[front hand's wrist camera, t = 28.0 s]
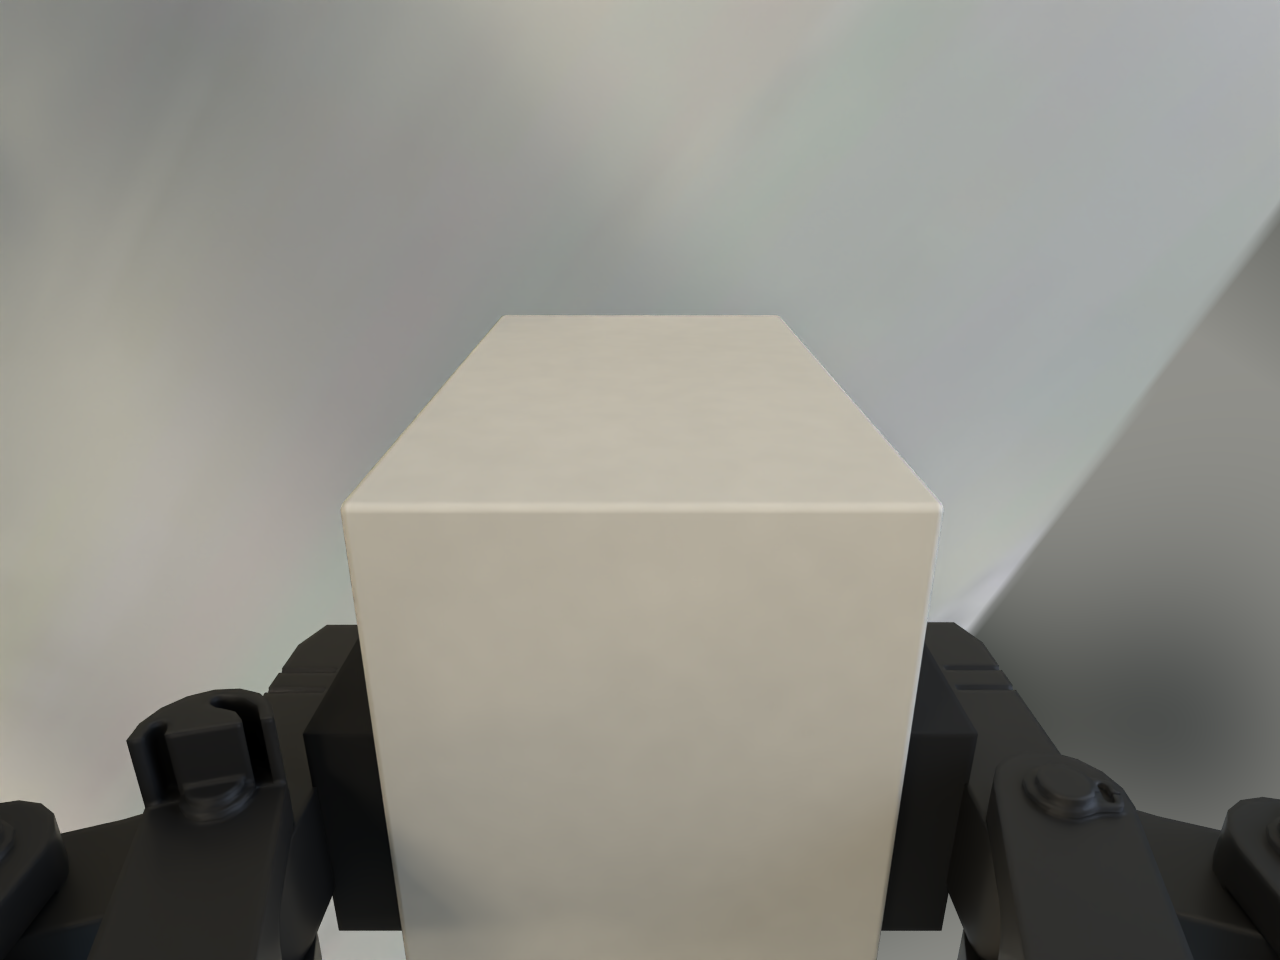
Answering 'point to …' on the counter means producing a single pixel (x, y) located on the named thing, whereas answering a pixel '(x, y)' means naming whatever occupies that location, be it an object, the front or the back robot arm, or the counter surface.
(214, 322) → the counter surface
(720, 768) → the block
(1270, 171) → the counter surface
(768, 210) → the counter surface
